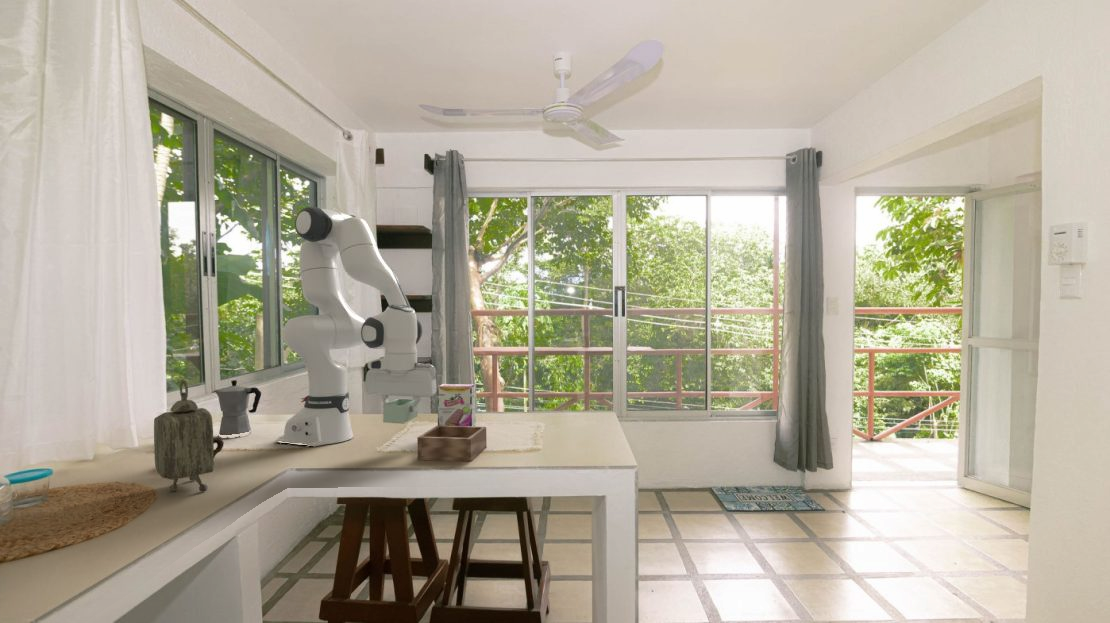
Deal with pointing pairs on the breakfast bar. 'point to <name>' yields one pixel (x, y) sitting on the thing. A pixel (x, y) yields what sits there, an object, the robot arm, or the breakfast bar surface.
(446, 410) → the candy bar box
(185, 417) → the tabletop clock
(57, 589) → the breakfast bar surface
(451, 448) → the walnut crate
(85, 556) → the breakfast bar surface
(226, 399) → the coffeepot
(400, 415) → the sage crate
